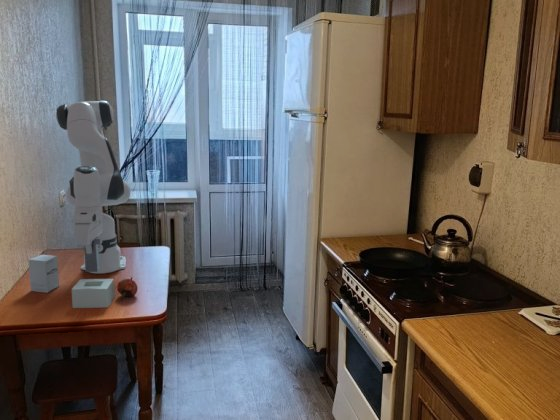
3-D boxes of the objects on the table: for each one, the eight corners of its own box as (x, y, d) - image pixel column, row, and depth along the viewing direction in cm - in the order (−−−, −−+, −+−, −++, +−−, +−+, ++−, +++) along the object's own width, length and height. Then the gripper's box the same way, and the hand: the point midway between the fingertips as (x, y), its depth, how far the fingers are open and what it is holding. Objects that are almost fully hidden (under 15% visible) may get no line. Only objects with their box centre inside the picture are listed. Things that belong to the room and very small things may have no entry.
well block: (81, 297, 174) (80, 279, 173) (114, 296, 176) (113, 278, 174) (72, 308, 165) (71, 289, 163) (108, 307, 166) (107, 288, 164)
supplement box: (47, 293, 177) (44, 261, 174) (30, 291, 178) (27, 259, 176) (60, 286, 184) (57, 255, 181) (43, 284, 185) (41, 253, 183)
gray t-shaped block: (83, 269, 168) (81, 237, 166) (103, 269, 169) (102, 236, 167) (81, 272, 165) (79, 239, 163) (101, 271, 166) (99, 239, 164)
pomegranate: (133, 306, 173) (146, 284, 179) (122, 295, 168) (136, 272, 174) (118, 304, 176) (131, 282, 182) (107, 293, 171) (120, 271, 177)
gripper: (88, 207, 173) (90, 243, 176) (70, 219, 153) (73, 260, 156) (105, 207, 174) (107, 243, 176) (90, 219, 154) (92, 259, 156)
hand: (91, 251), depth 166 cm, fingers closed on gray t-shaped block, 3 cm apart
